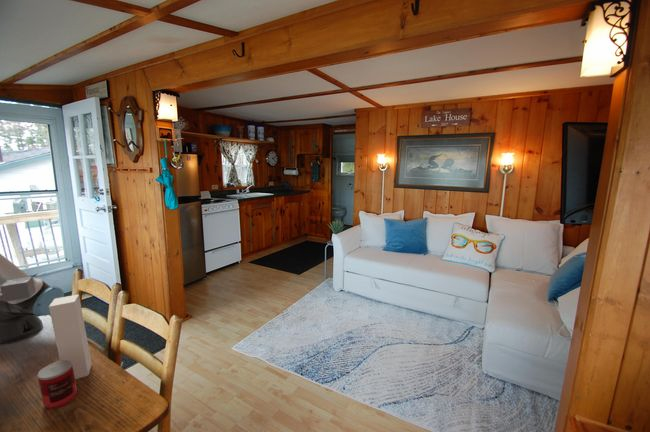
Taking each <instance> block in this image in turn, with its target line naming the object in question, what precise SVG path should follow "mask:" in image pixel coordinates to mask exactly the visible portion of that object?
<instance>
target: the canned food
mask: <svg viewBox="0 0 650 432" xmlns="http://www.w3.org/2000/svg"><path fill="white" fill-rule="evenodd" d="M37 382H38V385H39V390H40V394H41V398H42V403H43V406H44V407H45V409H49V410H51V409H54V410H55V409H58V408H61V407H63V406H65V405H67V404H68V403H70V402H71V401H73V400H74V399H75V397H76V396H77V393H78V389H77V383H76V379H75V377H74V372H73V367H72V363H71V361H68V360H63V361H60V360H59V361H54V362H52V363H50V364H48V365H46V366H44V367H43V368H41V369H40V370H39V372H37Z"/></svg>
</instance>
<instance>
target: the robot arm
mask: <svg viewBox="0 0 650 432" xmlns="http://www.w3.org/2000/svg"><path fill="white" fill-rule="evenodd" d="M27 277H31V276H29V275H28V274H27V273H26V272H24V271H23V270H22V269H21V268H20V267H18V266H17V265H15V264H14V263H13V262H12V261H10V260H9V259H8V258H7V257H5V256H4V255H3V254H1V253H0V286H1V285H3V284H4V283H5V282H6V281H8V280H13V279H20V278H27ZM33 281H34V285H35V290H36V291H35V292H34V293H33V295H32V296H31V297H30V298H24V299H18V300H13V301H7V302H4V300H3V301H0V345H6V344H7V345H8V344H12V343H15V342H19V341H22V340H25V339H28V338H30V337H32V336H34V335H36V334H37V333H38V332H40V331H41V330H42V329H43V328H44V323H43V321H42V320H41V319H40V317H47V316H49V315H50V310H49V306H50V304H51V303H52V302H53V300H54V299H56V298H61V297H65V293H64V290H63V289H62V288H60V287H57V286H54V285H53V286H50V285H49V284H47V283H46V282H45V281H44V280H43V279H41V278H38V277H34V278H33ZM0 293H2V292H1V288H0ZM50 316H51V315H50Z"/></svg>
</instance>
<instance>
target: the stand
mask: <svg viewBox="0 0 650 432" xmlns="http://www.w3.org/2000/svg"><path fill="white" fill-rule="evenodd" d="M49 310H50V317H51V324H52V329H53V333H54V339H55V343H56V348H57V353H58V357H59V358H58V359H59V361H63V360H68V361H71V363H72V367H73V372H74V377H75V380H78V379H80V378H84V377H88V376H89V375H90V372H91V369H92V366H93V364H92V359H91V353H90V347H89V343H88V336H87V333H86V332H87V331H86V326H85V325H86V324H85V319H84V316H83V315H84V314H83V309H82V305H81V299H80V295H79V293H78V294H74V295H72V294H71V295H68V296H64V297H61V298H56V299H54V300H53V302H52V303H51V304H50V306H49Z"/></svg>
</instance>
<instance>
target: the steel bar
mask: <svg viewBox="0 0 650 432" xmlns="http://www.w3.org/2000/svg"><path fill="white" fill-rule="evenodd" d="M33 277H34V276H30V277H27V278H20V279H13V280H8V281H6V282H5V283H4V284H3V285H1V286H0V288H1V292H2V293H0V301H3V300H4V302H7V301H13V300H18V299H24V298H30V297H31V296H32V295H33V293H34V292H35V291H36V290H35V285H34V281H33Z"/></svg>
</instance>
